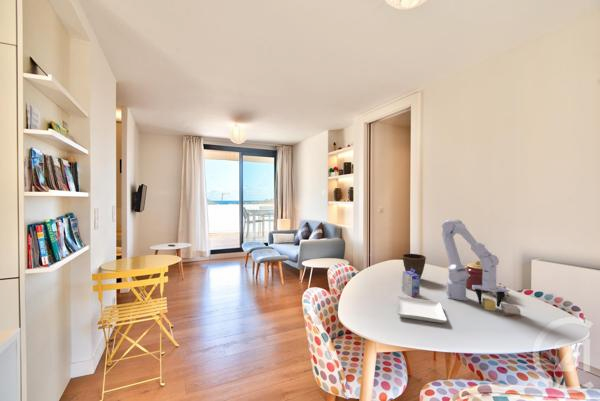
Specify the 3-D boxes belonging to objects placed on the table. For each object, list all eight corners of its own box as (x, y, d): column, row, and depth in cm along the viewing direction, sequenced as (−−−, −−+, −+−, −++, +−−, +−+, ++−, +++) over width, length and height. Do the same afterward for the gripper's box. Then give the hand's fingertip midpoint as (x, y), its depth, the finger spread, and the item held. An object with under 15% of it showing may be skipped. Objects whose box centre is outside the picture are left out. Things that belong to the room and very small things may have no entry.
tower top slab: (504, 312, 125) (504, 307, 125) (500, 307, 130) (501, 303, 130) (520, 314, 122) (520, 310, 122) (515, 309, 128) (515, 305, 128)
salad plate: (447, 327, 115) (447, 320, 115) (396, 319, 122) (397, 312, 122) (440, 307, 135) (440, 301, 135) (396, 302, 142) (396, 295, 142)
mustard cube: (484, 309, 132) (484, 300, 132) (482, 306, 136) (482, 297, 136) (495, 311, 130) (495, 302, 130) (492, 307, 134) (492, 298, 134)
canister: (493, 289, 158) (494, 261, 158) (484, 294, 151) (485, 264, 151) (470, 283, 169) (470, 256, 169) (461, 287, 162) (461, 259, 161)
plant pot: (413, 283, 169) (413, 259, 169) (397, 277, 183) (397, 254, 183) (430, 281, 175) (430, 257, 174) (413, 274, 188) (413, 252, 188)
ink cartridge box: (420, 296, 149) (420, 271, 148) (411, 297, 148) (411, 272, 147) (409, 290, 158) (409, 266, 158) (401, 291, 157) (401, 267, 157)
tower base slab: (505, 317, 124) (505, 312, 124) (501, 311, 130) (501, 307, 130) (521, 319, 122) (521, 314, 122) (516, 314, 128) (516, 309, 127)
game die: (504, 306, 144) (516, 296, 138) (488, 299, 145) (499, 289, 139) (499, 293, 151) (511, 283, 145) (484, 287, 152) (495, 277, 146)
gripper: (474, 279, 132) (474, 305, 132) (509, 283, 126) (509, 310, 126) (471, 275, 138) (471, 300, 138) (504, 278, 132) (504, 304, 133)
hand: (489, 305), depth 133 cm, fingers open, 7 cm apart
